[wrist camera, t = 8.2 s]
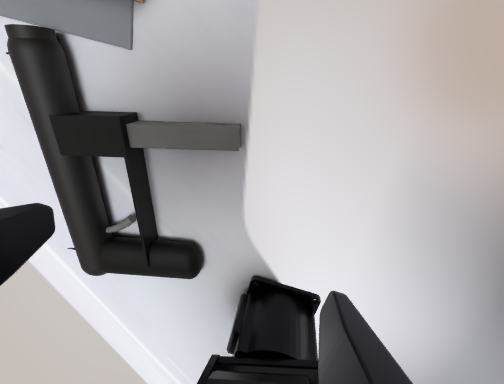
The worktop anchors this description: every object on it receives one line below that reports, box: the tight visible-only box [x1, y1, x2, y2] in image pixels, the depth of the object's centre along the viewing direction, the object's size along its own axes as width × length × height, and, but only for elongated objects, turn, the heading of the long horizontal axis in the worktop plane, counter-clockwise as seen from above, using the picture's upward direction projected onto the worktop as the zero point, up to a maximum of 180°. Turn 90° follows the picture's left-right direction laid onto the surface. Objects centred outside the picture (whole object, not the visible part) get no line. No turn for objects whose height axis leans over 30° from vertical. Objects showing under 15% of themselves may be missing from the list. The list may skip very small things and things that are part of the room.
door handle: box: [5, 24, 241, 279], centre depth 20 cm, size 3×20×16 cm
